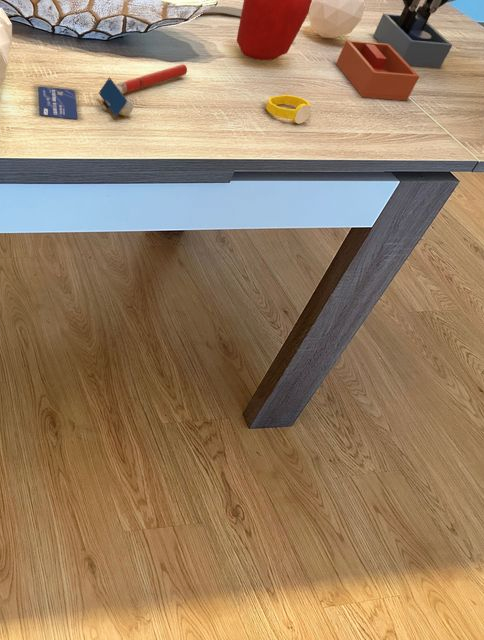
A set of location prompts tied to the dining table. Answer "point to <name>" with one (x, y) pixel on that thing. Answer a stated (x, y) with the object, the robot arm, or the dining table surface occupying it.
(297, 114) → the watch
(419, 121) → the dining table surface
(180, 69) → the flare
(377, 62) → the red disc on stick
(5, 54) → the bowl
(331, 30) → the decorative ball
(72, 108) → the credit card
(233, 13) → the machete
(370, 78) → the red bin
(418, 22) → the blue spoon
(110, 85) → the ultrasonic sensor
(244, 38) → the red rounded piece
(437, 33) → the blue bin
